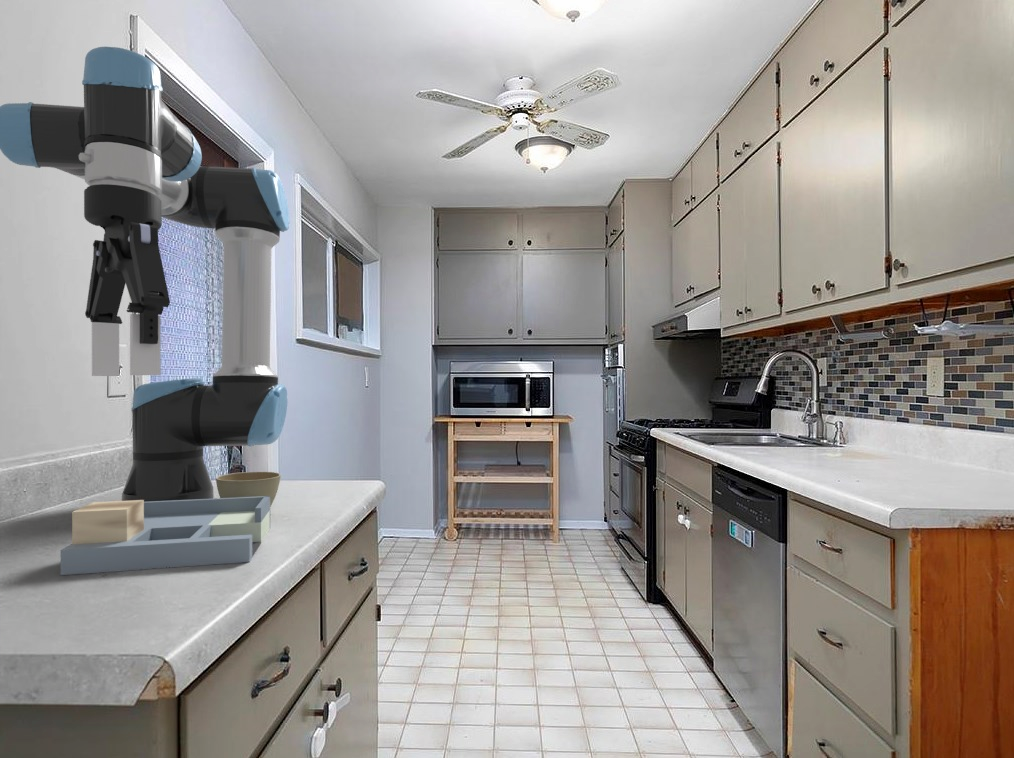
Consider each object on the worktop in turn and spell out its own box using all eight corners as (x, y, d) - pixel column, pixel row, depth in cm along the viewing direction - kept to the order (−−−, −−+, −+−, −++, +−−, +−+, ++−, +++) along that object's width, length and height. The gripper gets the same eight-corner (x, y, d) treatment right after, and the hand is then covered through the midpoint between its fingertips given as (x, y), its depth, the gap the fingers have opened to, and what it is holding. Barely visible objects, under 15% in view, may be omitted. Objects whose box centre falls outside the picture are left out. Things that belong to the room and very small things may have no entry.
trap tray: (120, 536, 88) (119, 502, 88) (270, 527, 93) (270, 495, 93) (60, 575, 71) (60, 533, 71) (249, 561, 76) (249, 522, 76)
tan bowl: (257, 526, 94) (257, 481, 94) (202, 523, 96) (202, 479, 96) (292, 512, 104) (292, 471, 104) (241, 510, 106) (241, 470, 106)
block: (93, 532, 79) (93, 502, 79) (143, 529, 81) (143, 499, 81) (72, 544, 73) (72, 511, 73) (126, 541, 75) (126, 509, 75)
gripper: (55, 205, 74) (56, 376, 74) (123, 155, 58) (123, 374, 58) (124, 217, 80) (124, 376, 80) (203, 175, 63) (204, 375, 63)
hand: (124, 376), depth 69 cm, fingers open, 13 cm apart
